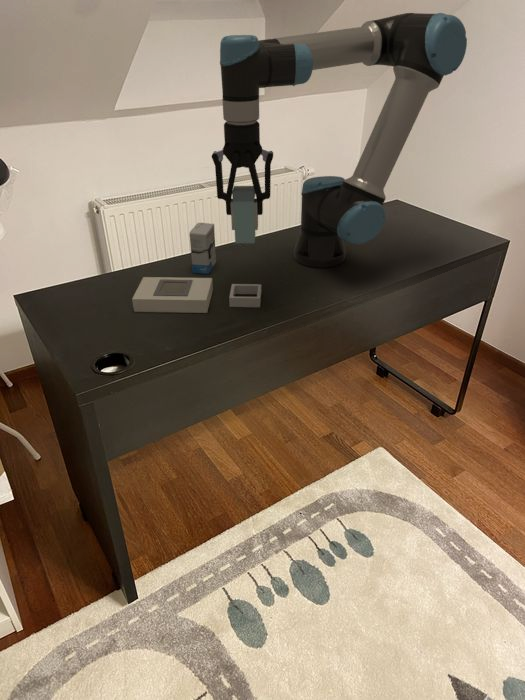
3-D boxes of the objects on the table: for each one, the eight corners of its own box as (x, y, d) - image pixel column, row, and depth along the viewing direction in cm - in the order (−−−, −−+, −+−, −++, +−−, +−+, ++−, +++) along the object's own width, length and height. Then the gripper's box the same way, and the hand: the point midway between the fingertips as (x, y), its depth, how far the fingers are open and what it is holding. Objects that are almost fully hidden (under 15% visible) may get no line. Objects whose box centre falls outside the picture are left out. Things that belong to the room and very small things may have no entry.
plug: (256, 235, 126) (255, 185, 120) (255, 243, 122) (253, 192, 116) (236, 235, 127) (234, 185, 120) (234, 243, 123) (232, 192, 116)
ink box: (208, 274, 146) (206, 234, 139) (191, 273, 147) (188, 232, 140) (217, 262, 153) (214, 223, 146) (200, 260, 153) (198, 221, 147)
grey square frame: (261, 293, 136) (261, 284, 135) (260, 307, 130) (260, 298, 129) (232, 292, 137) (231, 283, 135) (229, 306, 130) (229, 297, 129)
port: (212, 290, 138) (212, 277, 136) (207, 312, 128) (206, 299, 126) (145, 289, 138) (143, 276, 136) (134, 311, 128) (131, 297, 126)
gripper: (283, 117, 112) (282, 222, 126) (202, 118, 113) (209, 222, 126) (283, 124, 106) (282, 234, 119) (197, 125, 107) (205, 233, 120)
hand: (245, 227), depth 123 cm, fingers closed on plug, 4 cm apart
